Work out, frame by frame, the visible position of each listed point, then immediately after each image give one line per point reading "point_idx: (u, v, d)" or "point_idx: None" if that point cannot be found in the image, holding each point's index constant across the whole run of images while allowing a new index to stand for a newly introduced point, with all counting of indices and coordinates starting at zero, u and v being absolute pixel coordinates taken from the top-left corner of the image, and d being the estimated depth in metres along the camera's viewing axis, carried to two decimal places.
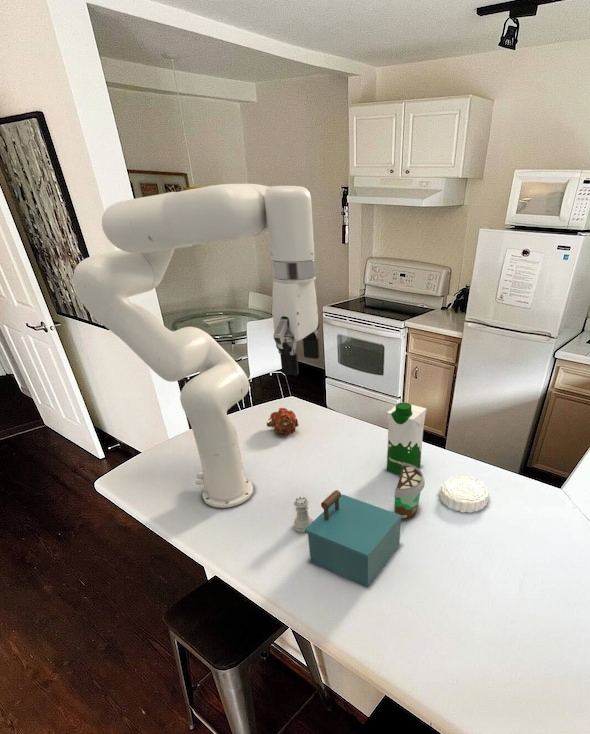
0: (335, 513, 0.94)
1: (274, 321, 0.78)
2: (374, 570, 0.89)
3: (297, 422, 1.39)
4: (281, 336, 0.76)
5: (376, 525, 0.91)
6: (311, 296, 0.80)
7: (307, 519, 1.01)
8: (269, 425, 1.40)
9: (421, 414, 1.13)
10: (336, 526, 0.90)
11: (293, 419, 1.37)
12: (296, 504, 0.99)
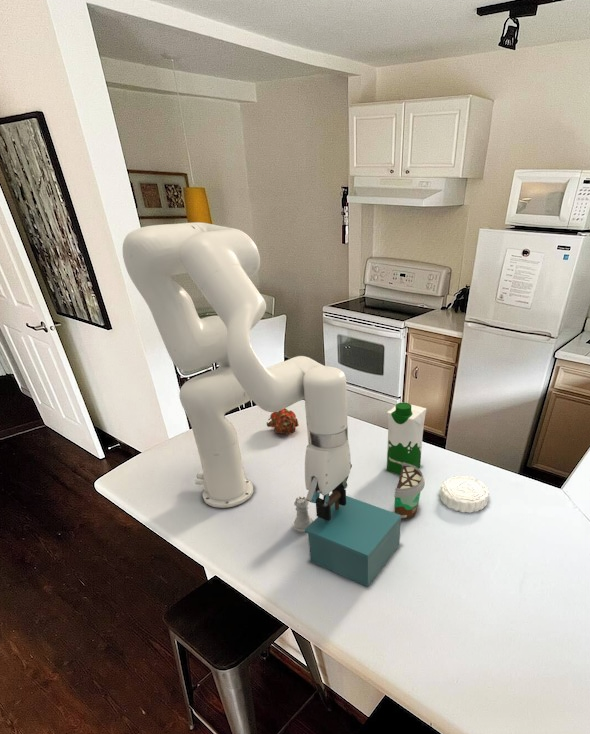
0: (335, 513, 0.94)
1: (305, 477, 0.85)
2: (374, 570, 0.89)
3: (297, 422, 1.39)
4: (313, 499, 0.84)
5: (376, 525, 0.91)
6: (343, 454, 0.85)
7: (307, 519, 1.01)
8: (269, 425, 1.40)
9: (421, 414, 1.13)
10: (336, 526, 0.90)
11: (293, 419, 1.37)
12: (296, 504, 0.99)
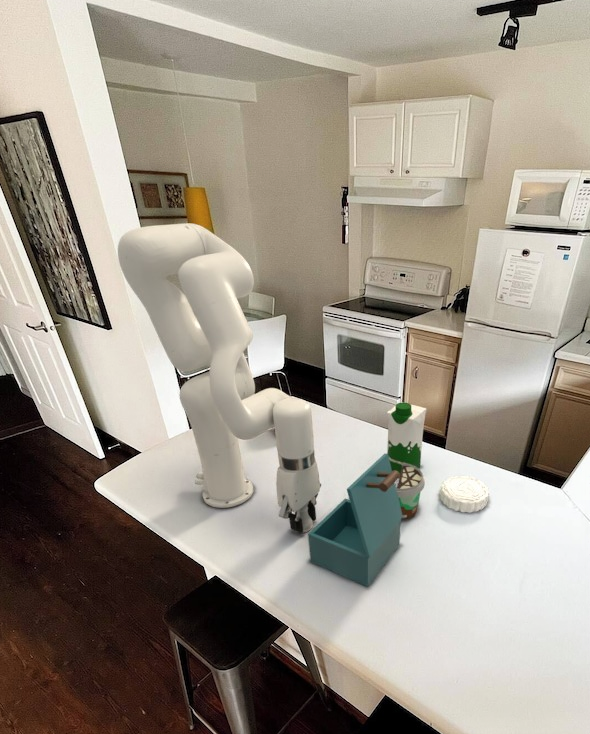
0: (374, 481, 0.84)
1: (277, 495, 0.94)
2: (374, 570, 0.89)
3: None
4: (285, 515, 0.94)
5: (387, 520, 0.88)
6: (311, 475, 0.95)
7: (307, 519, 1.01)
8: None
9: (421, 414, 1.13)
10: (368, 502, 0.82)
11: None
12: None
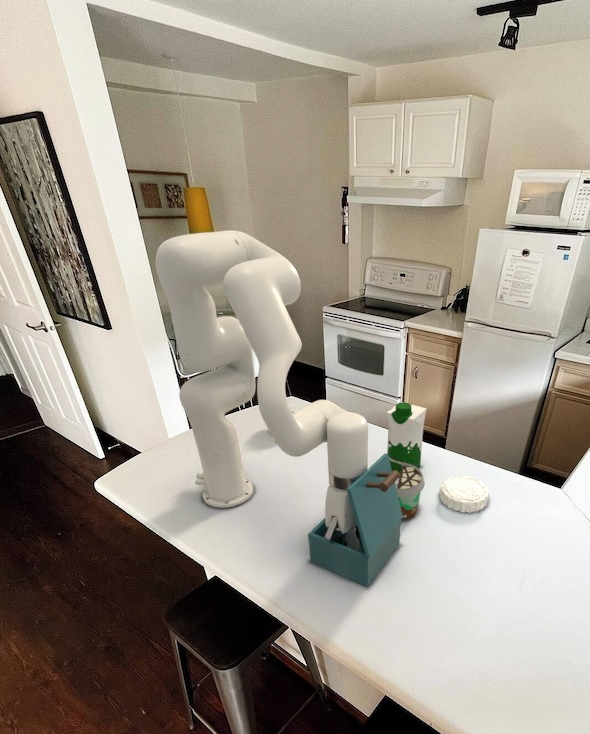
0: (374, 481, 0.84)
1: (326, 516, 0.87)
2: (374, 570, 0.89)
3: None
4: (331, 537, 0.86)
5: (387, 520, 0.88)
6: None
7: (355, 540, 0.94)
8: None
9: (421, 414, 1.13)
10: (368, 502, 0.82)
11: None
12: None
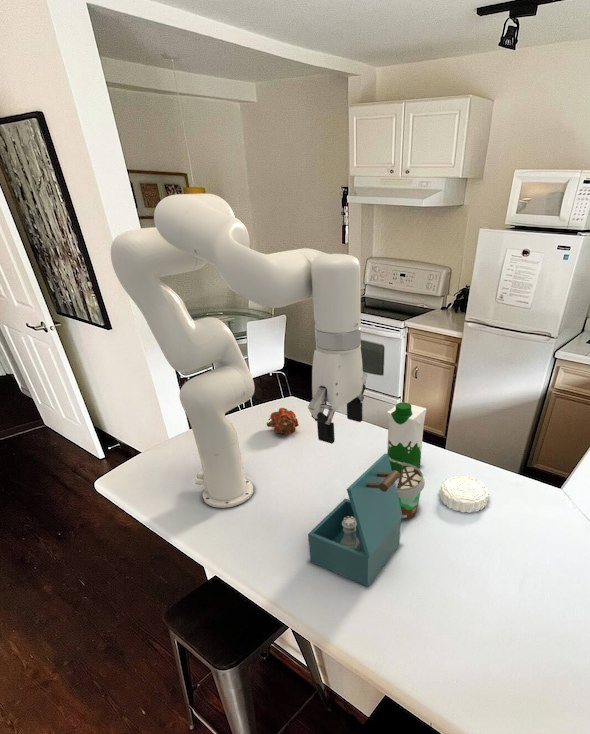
0: (374, 481, 0.84)
1: (313, 389, 0.75)
2: (374, 570, 0.89)
3: (297, 422, 1.39)
4: (316, 407, 0.73)
5: (387, 520, 0.88)
6: (355, 364, 0.76)
7: (355, 540, 0.94)
8: (269, 425, 1.40)
9: (421, 414, 1.13)
10: (368, 502, 0.82)
11: (293, 419, 1.37)
12: (344, 525, 0.92)
